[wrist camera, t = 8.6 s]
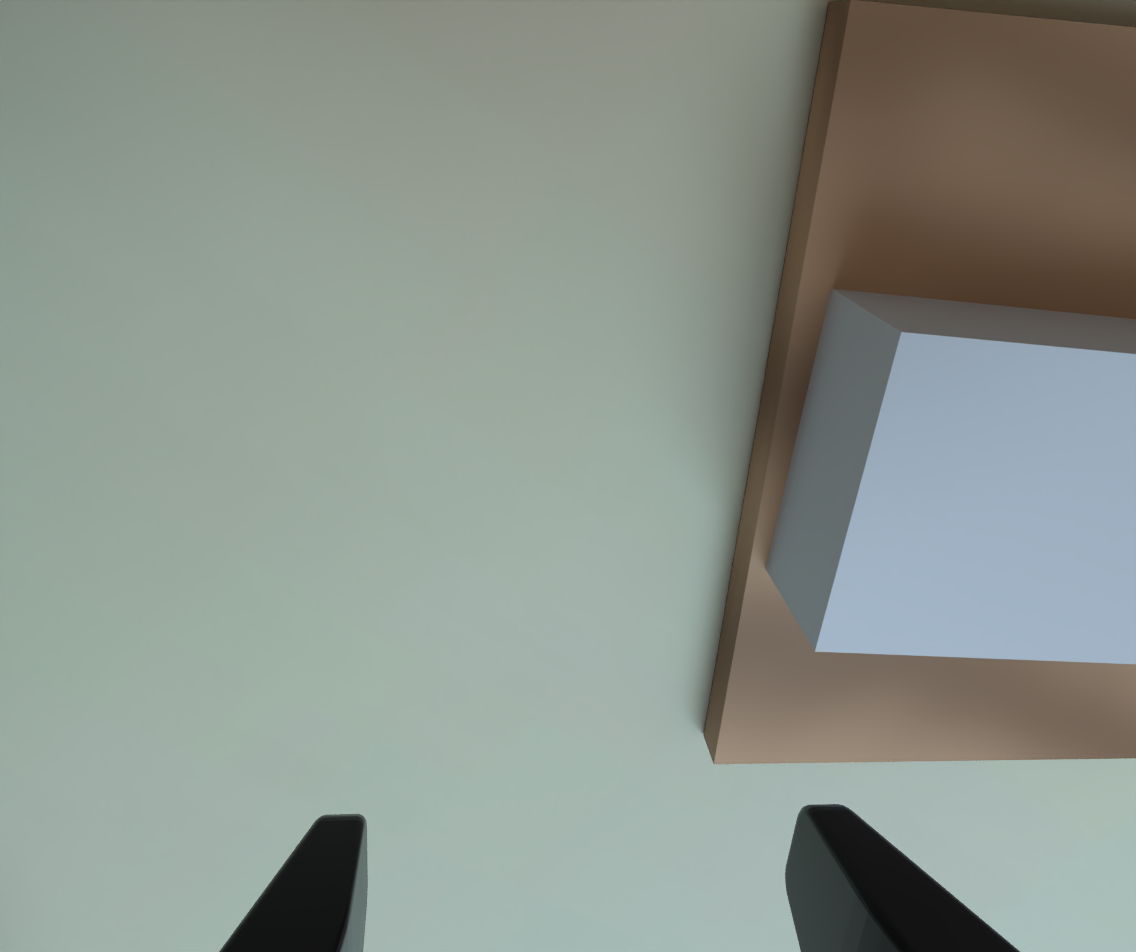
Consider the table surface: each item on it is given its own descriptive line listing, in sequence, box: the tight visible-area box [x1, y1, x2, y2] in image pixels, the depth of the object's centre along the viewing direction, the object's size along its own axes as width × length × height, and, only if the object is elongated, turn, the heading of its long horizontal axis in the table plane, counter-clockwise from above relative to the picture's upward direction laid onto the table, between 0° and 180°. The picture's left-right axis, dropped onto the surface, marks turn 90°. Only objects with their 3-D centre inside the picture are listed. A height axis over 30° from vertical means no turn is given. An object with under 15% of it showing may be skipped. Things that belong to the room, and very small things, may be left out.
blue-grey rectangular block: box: [766, 289, 1136, 664], centre depth 18 cm, size 6×10×3 cm, turn 83°
